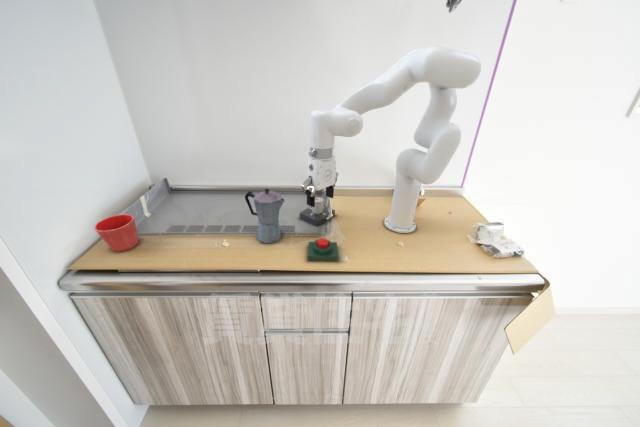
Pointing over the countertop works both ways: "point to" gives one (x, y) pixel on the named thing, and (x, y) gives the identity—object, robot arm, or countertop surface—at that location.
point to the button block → (323, 252)
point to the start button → (322, 243)
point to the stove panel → (315, 216)
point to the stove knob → (318, 206)
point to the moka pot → (267, 214)
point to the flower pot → (118, 232)
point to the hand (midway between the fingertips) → (320, 201)
